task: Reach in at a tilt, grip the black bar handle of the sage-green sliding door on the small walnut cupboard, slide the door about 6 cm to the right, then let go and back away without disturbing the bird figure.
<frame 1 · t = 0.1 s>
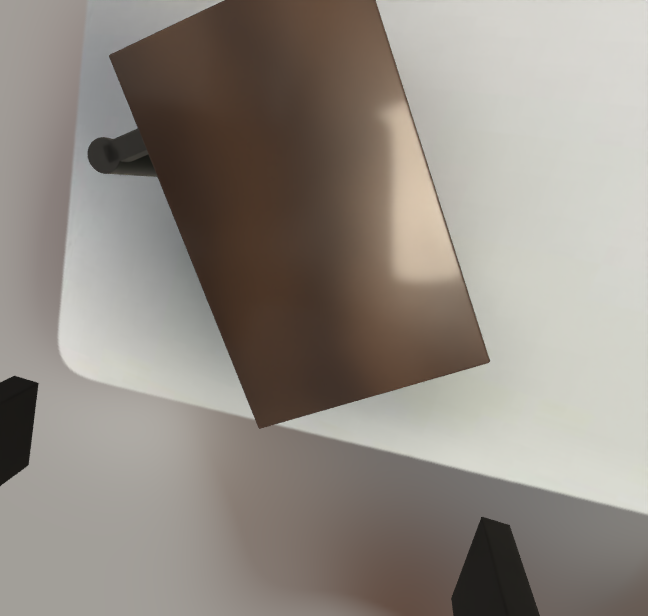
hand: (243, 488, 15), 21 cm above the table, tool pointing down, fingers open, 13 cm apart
sliding door: (186, 187, 28), point 7 cm above the table, slide at 0.0 cm
cupboard: (340, 203, 34), on the table
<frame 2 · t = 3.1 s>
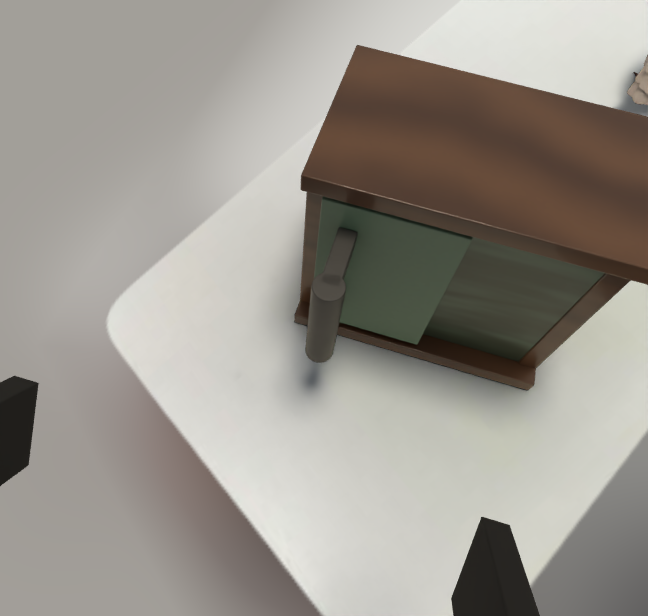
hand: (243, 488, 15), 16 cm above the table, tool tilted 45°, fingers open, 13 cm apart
sliding door: (368, 311, 28), point 7 cm above the table, slide at 0.0 cm
cupboard: (423, 294, 37), on the table
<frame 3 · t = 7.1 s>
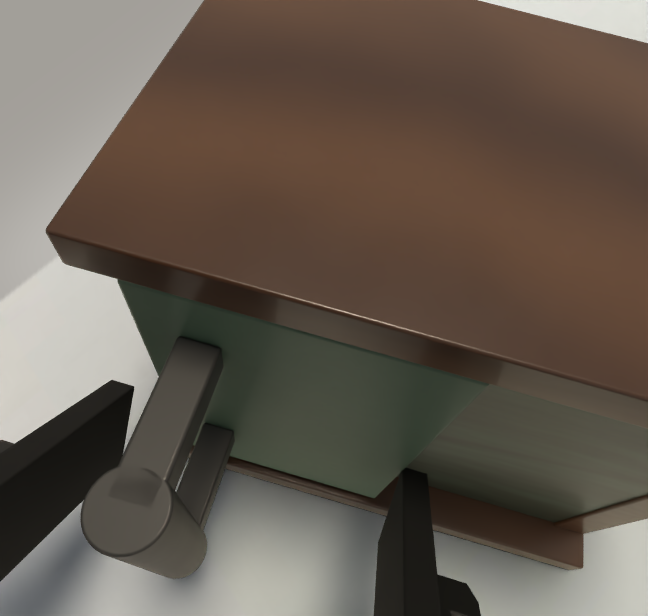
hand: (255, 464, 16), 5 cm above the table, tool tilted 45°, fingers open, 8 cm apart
sliding door: (266, 492, 14), point 7 cm above the table, slide at -0.2 cm, touching gripper
cupboard: (391, 393, 23), on the table
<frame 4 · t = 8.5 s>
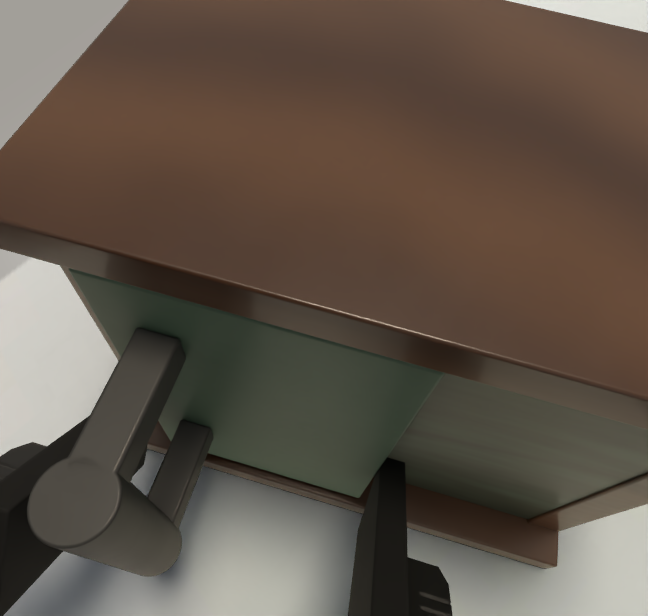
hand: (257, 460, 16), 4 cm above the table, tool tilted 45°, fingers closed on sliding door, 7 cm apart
sliding door: (235, 488, 13), point 7 cm above the table, slide at 0.4 cm, touching gripper
cupboard: (366, 388, 23), on the table
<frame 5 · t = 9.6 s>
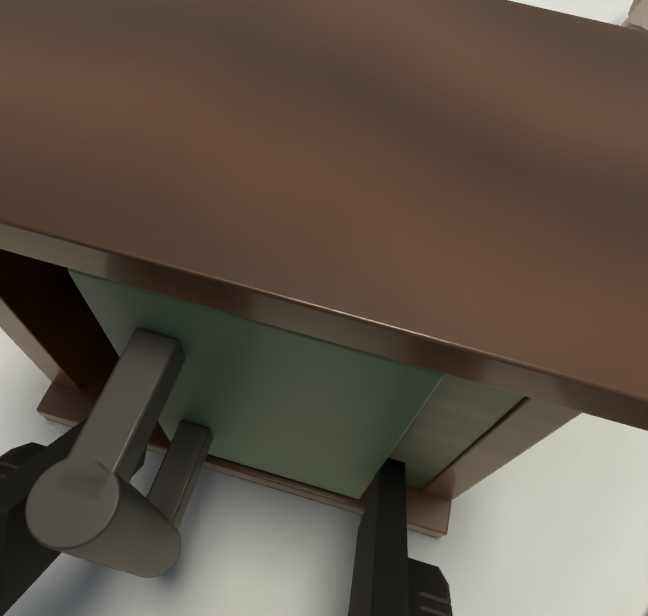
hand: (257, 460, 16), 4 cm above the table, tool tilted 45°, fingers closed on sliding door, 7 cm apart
sliding door: (235, 489, 13), point 7 cm above the table, slide at 4.4 cm, touching gripper
bird: (639, 54, 37), on the table
cupboard: (277, 363, 23), on the table
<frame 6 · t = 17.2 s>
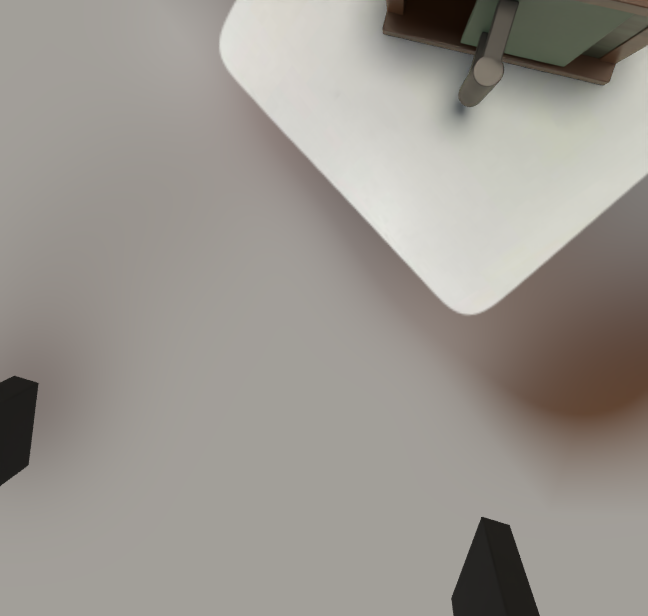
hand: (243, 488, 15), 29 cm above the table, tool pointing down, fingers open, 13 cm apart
sliding door: (521, 64, 31), point 7 cm above the table, slide at 4.5 cm
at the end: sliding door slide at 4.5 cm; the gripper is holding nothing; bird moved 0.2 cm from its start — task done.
